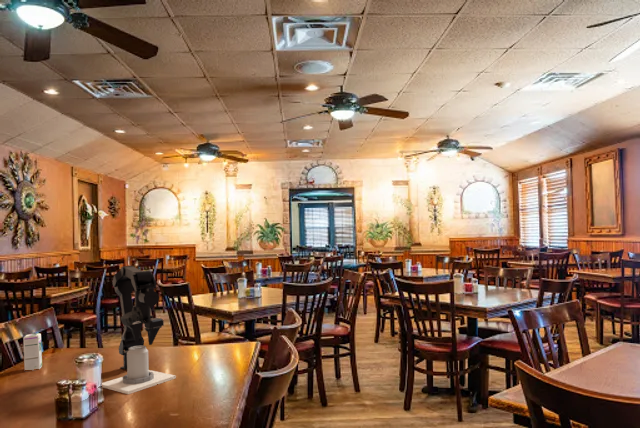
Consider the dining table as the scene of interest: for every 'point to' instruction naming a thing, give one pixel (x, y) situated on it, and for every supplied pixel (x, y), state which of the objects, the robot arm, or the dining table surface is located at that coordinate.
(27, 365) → the syrup box
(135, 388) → the platter
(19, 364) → the dining table surface
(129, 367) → the can
